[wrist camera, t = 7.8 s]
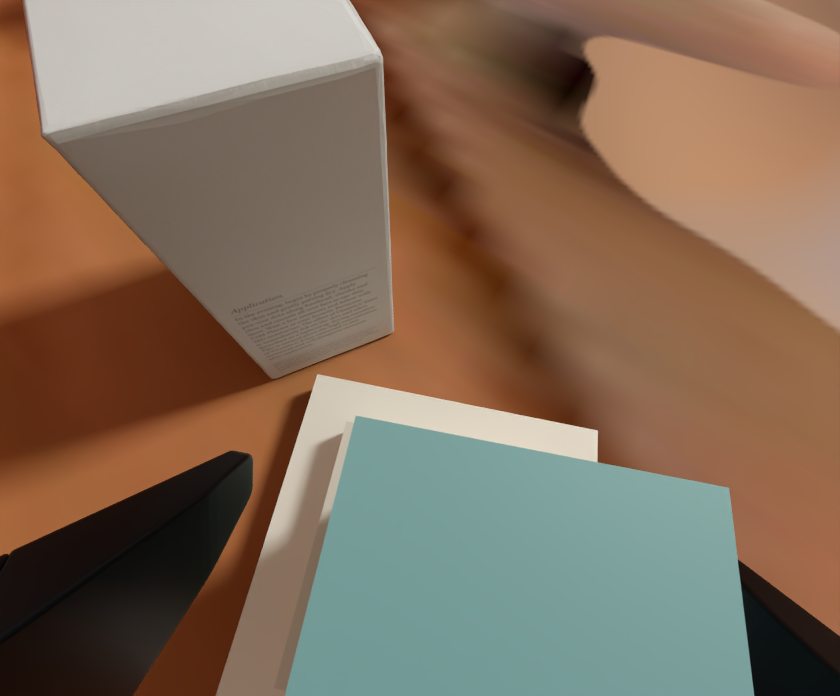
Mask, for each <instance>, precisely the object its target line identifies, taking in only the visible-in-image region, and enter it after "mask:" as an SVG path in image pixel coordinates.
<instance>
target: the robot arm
mask: <svg viewBox="0 0 840 696" xmlns="http://www.w3.org/2000/svg"><path fill="white" fill-rule="evenodd" d="M252 487H253V458H252V456H251V455H250V454H248V453H243V452H238V451H229V452H227V453H224V454H222V455H220V456H218V457H216V458H213V459H211V460H209V461H207V462H205V463H203V464H200V465H198V466H196V467H194V468H192V469H189V470H187V471H185V472H183V473H181V474H179V475H176V476H174V477H172V478H170V479H168V480H165V481H163V482H161V483H159V484H157V485H155V486H152V487H150V488H148V489H146V490H144V491H141V492H139V493H137V494H135V495H133V496H131V497H128V498H126V499H124V500H122V501H120V502H117V503H115V504H113V505H111V506H109V507H107V508H104V509H102V510H100V511H98V512H96V513H93V514H91V515H89V516H87V517H85V518H83V519H80V520H78V521H76V522H74V523H72V524H69V525H67V526H65V527H63V528H61V529H59V530H56V531H54V532H52V533H50V534H48V535H45V536H43V537H41V538H39V539H37V540H35V541H32V542H30V543H28V544H26V545H24V546H21V547H19V548H17V549H15V550H13V551H12V552H11V553H10V555H8V554H4V555H1V556H0V696H133V694H134V693H135V691H136V690H137V688H138V686H139V685H140V683H141V682H142V680H143V679H144V677H145V676H146V674H147V672H148V671H149V669H150V668H151V666H152V665H153V663H154V662H155V660H156V658H157V657H158V655H159V654H160V652H161V651H162V649H163V648H164V646H165V644H166V643H167V641H168V640H169V638H170V637H171V635H172V634H173V632H174V630H175V629H176V627H177V626H178V624H179V623H180V621H181V620H182V618H183V616H184V615H185V613H186V612H187V610H188V609H189V607H190V605H191V604H192V602H193V601H194V599H195V598H196V596H197V595H198V593H199V591H200V590H201V588H202V587H203V585H204V584H205V582H206V580H207V579H208V577H209V575H210V574H211V572H212V570H213V568H214V567H215V565H216V563H217V561H218V559H219V557H220V555H221V553H222V551H223V549H224V547H225V545H226V543H227V541H228V540H229V538H230V536H231V534H232V532H233V530H234V528H235V526H236V524H237V522H238V520H239V518H240V516H241V514H242V512H243V510H244V508H245V506H246V504H247V502H248V500H249V498H250V496H251V492H252ZM738 566H739V575H740V583H741V591H742V599H743V607H744V616H745V624H746V632H747V640H748V648H749V657H750V665H751V673H752V681H753V689H754V696H840V636H839V635H837V634H836V633H835V632H833V631H832V630H831V629H829V628H828V627H827V626H825V625H824V624H823V623H821V622H820V621H819V620H817V619H816V618H815V617H813V616H812V615H811V614H810V613H808V612H807V611H806V610H804V609H803V608H802V607H800V606H799V605H798V604H796V603H795V602H794V601H792V600H791V599H790V598H788V597H787V596H786V595H784V594H783V593H782V592H780V591H779V590H778V589H776V588H775V587H774V586H772V585H771V584H770V583H769V582H767V581H766V580H765V579H763V578H762V577H761V576H759V575H758V574H757V573H755V572H754V571H753V570H751V569H750V568H749V567H747V566H746V565H745V564H743V563H742V562H741V561H739V560H738Z"/></svg>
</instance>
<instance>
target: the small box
mask: <svg viewBox="0 0 840 696" xmlns="http://www.w3.org/2000/svg"><path fill="white" fill-rule="evenodd" d="M22 4H23V12H24V18H25V25H26V33H27V39H28V45H29V50H30V58H31V65H32V71H33V77H34V84H35V92H36V100H37V107H38V113H39V120H40V126H41V136H42V137H43V138H44V139H45V140H46V141H47V142H48V143H49V144H50V145H51V146H52V147H54V148H55V149H56V150H57V151H58V152H59V153H60V154H61V155H62V156H63V158H64V159H65V160H66V161H67V162H68V163H69V164H70V165H71V166H72V167H73V168H74V169H75V171H76V172H77V173H78V174H79V175H80V176H81V177H82V178H83V179H84V180H85V181H86V182H87V183H88V184H89V185H90V186H91V187H92V188H93V189H94V190H95V191H96V192H97V193H98V194H99V196H100V197H101V198H102V199H103V200H104V201H105V202H106V203H107V204H108V205H109V206H110V208H111V209H112V210H113V211H114V212H115V213H116V214H117V215H118V216H119V217H120V218H121V219H122V220H123V222H124V223H125V224H126V225H127V226H128V227H129V228H130V229H131V230H132V231H133V232H134V233H135V234H136V235H137V236H138V237H139V238H140V240H141V241H142V242H143V243H144V244H145V245H146V246H147V247H148V248H149V249H150V250H151V251H152V252H153V253H154V254H155V255H156V256H157V257H158V258H159V260H160V261H161V262H162V263H163V264H164V265H165V266H166V267H167V268H168V269H169V270H170V271H171V272H172V273H173V275H174V276H175V277H176V278H177V279H178V280H179V281H180V282H181V283H182V284H183V285H184V286H185V287H186V288H187V289H188V291H189V292H190V293H191V294H192V295H193V296H194V297H195V298H196V299H197V300H198V301H199V302H200V303H201V304H202V305H203V306H204V308H205V309H206V310H207V311H208V312H209V313H210V314H211V315H212V316H213V317H214V318H215V319H216V321H217V322H218V323H219V324H220V325H221V326H222V327H223V328H224V329H225V330H226V331H227V332H228V333H229V334H230V335H231V336H232V337H233V338H234V339H235V341H236V342H237V343H238V344H239V345H240V346H241V347H242V348H243V349H244V350H245V351H246V352H247V354H248V355H249V356H250V357H251V358H252V359H253V360H254V361H255V362H256V363H257V364H258V365H259V366H260V367H261V368H262V370H263V371H264V372H265V373H266V374H267V375H268V376H269V377H270V378H271V379H277V378H279V377H282V376H284V375H287V374H289V373H292V372H294V371H297V370H299V369H302V368H304V367H307V366H310V365H312V364H315V363H317V362H320V361H322V360H325V359H327V358H330V357H332V356H335V355H338V354H340V353H343V352H345V351H348V350H351V349H353V348H356V347H358V346H361V345H363V344H366V343H369V342H371V341H373V340H376V339H378V338H381V337H383V336H386V335H389V334H391V333H393V332H394V320H393V299H392V275H391V243H390V221H389V194H388V173H387V140H386V120H385V98H384V74H383V57H382V54H381V51H380V49H379V48H378V46H377V45H376V43H375V41H374V40H373V38H372V36H371V34H370V33H369V31H368V30H367V28H366V27H365V25H364V23H363V22H362V20H361V18H360V17H359V15H358V13H357V12H356V10H355V8H354V7H353V5H352V4H351V2H350V1H349V0H22Z"/></svg>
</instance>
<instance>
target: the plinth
mask: <svg viewBox="0 0 840 696" xmlns="http://www.w3.org/2000/svg"><path fill="white" fill-rule="evenodd" d="M356 416H361V417H366V418H371V419H376V420H382V421H387V422H392V423H397V424H402V425H407V426H413V427H418V428H423V429H428V430H433V431H438V432H443V433H449V434H454V435H459V436H464V437H469V438H474V439H480V440H485V441H490V442H495V443H500V444H505V445H510V446H516V447H521V448H526V449H531V450H536V451H541V452H547V453H552V454H557V455H562V456H567V457H572V458H577V459H583V460H588V461H593V462H597V445H598V431H597V430H592V429H587V428H582V427H577V426H572V425H567V424H562V423H557V422H552V421H547V420H542V419H537V418H532V417H527V416H522V415H517V414H512V413H507V412H502V411H497V410H492V409H487V408H482V407H477V406H472V405H467V404H462V403H458V402H453V401H448V400H443V399H438V398H433V397H428V396H423V395H418V394H413V393H408V392H403V391H398V390H393V389H388V388H383V387H378V386H373V385H368V384H363V383H358V382H353V381H348V380H343V379H338V378H333V377H328V376H323V375H318V374H317V377H316V381H315V384H314V387H313V390H312V393H311V396H310V399H309V403H308V406H307V409H306V412H305V415H304V418H303V422H302V425H301V428H300V431H299V434H298V437H297V440H296V444H295V447H294V450H293V453H292V456H291V459H290V463H289V466H288V469H287V472H286V475H285V478H284V481H283V485H282V488H281V491H280V494H279V497H278V500H277V504H276V507H275V510H274V513H273V516H272V519H271V523H270V526H269V529H268V532H267V535H266V538H265V541H264V545H263V548H262V551H261V554H260V557H259V560H258V564H257V567H256V570H255V573H254V576H253V579H252V582H251V586H250V589H249V592H248V595H247V598H246V601H245V605H244V608H243V611H242V614H241V617H240V620H239V624H238V627H237V630H236V633H235V636H234V639H233V642H232V646H231V649H230V652H229V655H228V658H227V661H226V665H225V668H224V671H223V674H222V677H221V680H220V683H219V687H218V690H217V693H216V696H285V693H286V689H287V685H288V681H289V677H290V673H291V669H292V665H293V661H294V657H295V653H296V649H297V645H298V641H299V637H300V633H301V629H302V626H303V622H304V618H305V614H306V610H307V606H308V602H309V598H310V594H311V590H312V586H313V582H314V578H315V574H316V570H317V566H318V562H319V559H320V555H321V551H322V547H323V543H324V539H325V535H326V531H327V527H328V523H329V519H330V515H331V511H332V507H333V503H334V499H335V495H336V491H337V488H338V484H339V480H340V476H341V472H342V468H343V464H344V460H345V456H346V452H347V448H348V444H349V440H350V436H351V432H352V428H353V424H354V420H355V417H356Z"/></svg>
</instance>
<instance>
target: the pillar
mask: <svg viewBox="0 0 840 696" xmlns="http://www.w3.org/2000/svg"><path fill="white" fill-rule="evenodd" d="M285 696H754V689H753V681H752V673H751V665H750V657H749V648H748V640H747V632H746V624H745V616H744V607H743V599H742V591H741V583H740V575H739V566H738V558H737V550H736V542H735V534H734V525H733V517H732V509H731V501H730V493H729V488H727V487H722V486H717V485H712V484H706V483H701V482H696V481H691V480H686V479H681V478H675V477H670V476H665V475H660V474H655V473H650V472H645V471H639V470H634V469H629V468H624V467H619V466H614V465H608V464H603V463H598V462H593V461H588V460H583V459H577V458H572V457H567V456H562V455H557V454H552V453H547V452H541V451H536V450H531V449H526V448H521V447H516V446H510V445H505V444H500V443H495V442H490V441H485V440H480V439H474V438H469V437H464V436H459V435H454V434H449V433H443V432H438V431H433V430H428V429H423V428H418V427H413V426H407V425H402V424H397V423H392V422H387V421H382V420H376V419H371V418H366V417H361V416H356V417H355V420H354V424H353V428H352V432H351V436H350V440H349V444H348V448H347V452H346V456H345V460H344V464H343V468H342V472H341V476H340V480H339V484H338V488H337V491H336V495H335V499H334V503H333V507H332V511H331V515H330V519H329V523H328V527H327V531H326V535H325V539H324V543H323V547H322V551H321V555H320V559H319V562H318V566H317V570H316V574H315V578H314V582H313V586H312V590H311V594H310V598H309V602H308V606H307V610H306V614H305V618H304V622H303V626H302V629H301V633H300V637H299V641H298V645H297V649H296V653H295V657H294V661H293V665H292V669H291V673H290V677H289V681H288V685H287V689H286V693H285Z"/></svg>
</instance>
